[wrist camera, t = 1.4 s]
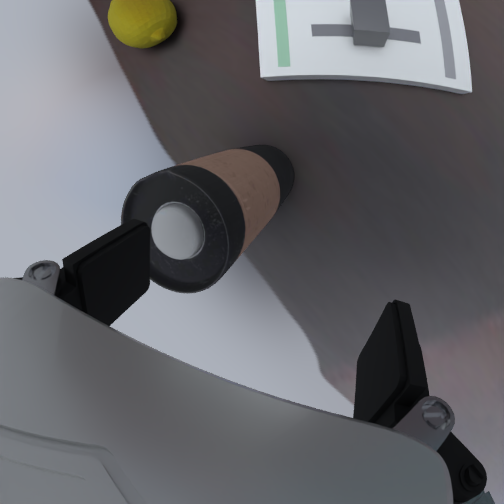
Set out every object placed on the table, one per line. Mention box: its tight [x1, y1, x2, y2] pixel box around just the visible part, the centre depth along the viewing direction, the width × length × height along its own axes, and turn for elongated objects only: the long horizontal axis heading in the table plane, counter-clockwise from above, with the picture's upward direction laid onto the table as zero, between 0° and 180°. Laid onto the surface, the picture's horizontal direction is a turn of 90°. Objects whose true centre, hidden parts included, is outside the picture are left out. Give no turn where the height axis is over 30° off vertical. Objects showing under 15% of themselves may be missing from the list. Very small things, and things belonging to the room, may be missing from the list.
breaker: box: [350, 0, 390, 47], centre depth 19 cm, size 3×4×5 cm
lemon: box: [108, 0, 177, 48], centre depth 25 cm, size 11×8×8 cm
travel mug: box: [121, 145, 294, 293], centre depth 25 cm, size 8×8×20 cm
